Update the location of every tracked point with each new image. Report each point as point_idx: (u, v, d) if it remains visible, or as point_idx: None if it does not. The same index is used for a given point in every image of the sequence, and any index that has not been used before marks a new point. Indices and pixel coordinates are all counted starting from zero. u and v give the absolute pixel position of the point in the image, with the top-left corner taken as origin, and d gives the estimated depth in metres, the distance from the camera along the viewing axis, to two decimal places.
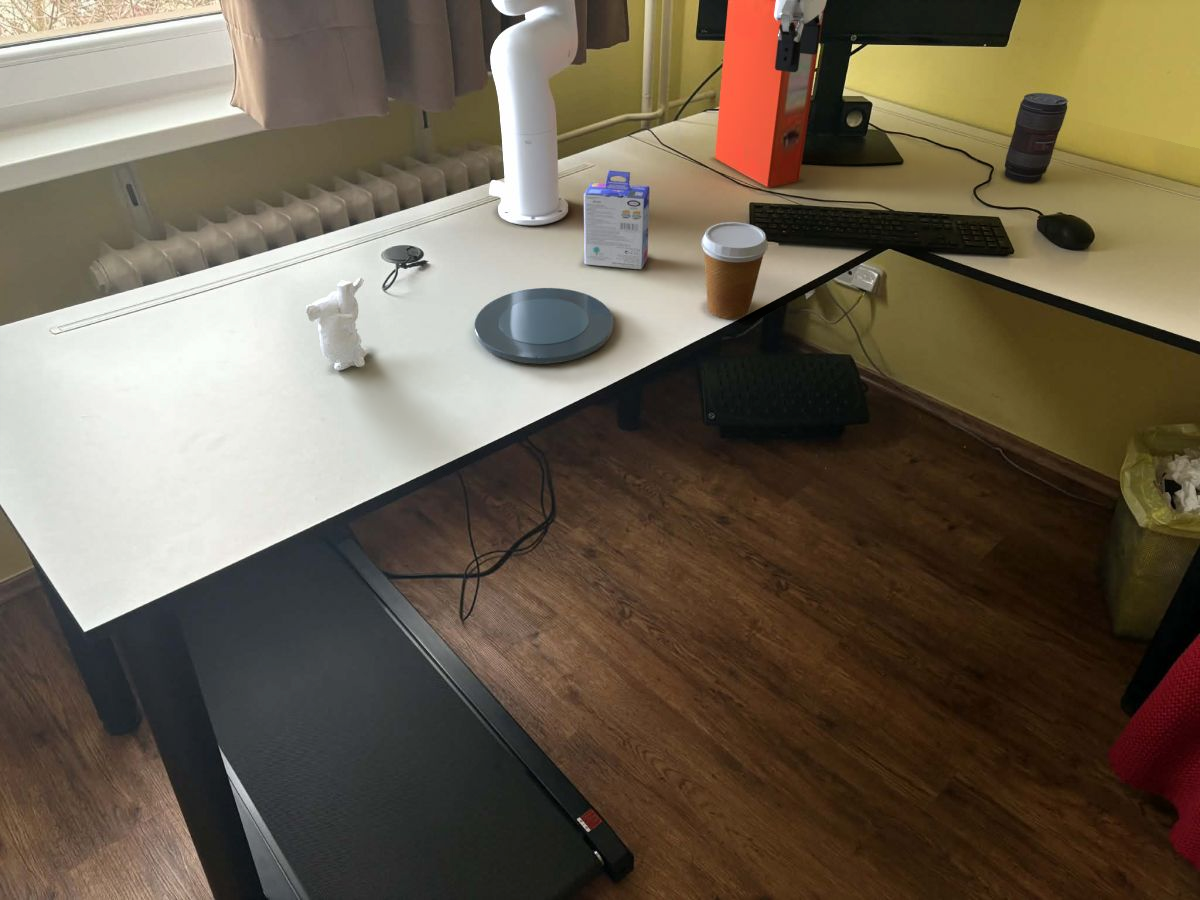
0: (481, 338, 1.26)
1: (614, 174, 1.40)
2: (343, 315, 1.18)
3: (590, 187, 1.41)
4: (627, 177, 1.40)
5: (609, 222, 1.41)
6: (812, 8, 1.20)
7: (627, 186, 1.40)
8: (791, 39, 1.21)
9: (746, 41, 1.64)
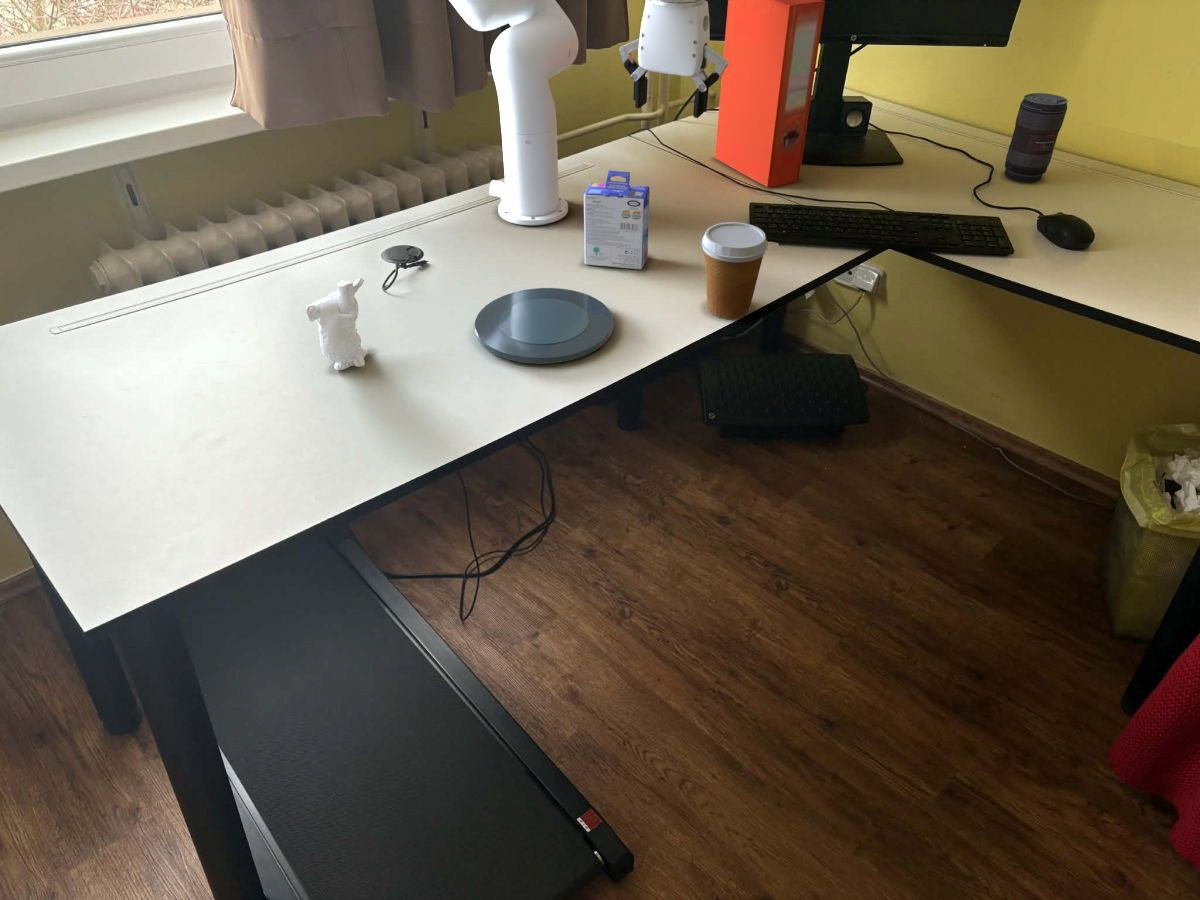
0: (481, 338, 1.26)
1: (614, 174, 1.40)
2: (343, 315, 1.18)
3: (590, 187, 1.41)
4: (627, 177, 1.40)
5: (609, 222, 1.41)
6: (646, 58, 1.35)
7: (627, 186, 1.40)
8: None
9: (746, 41, 1.64)
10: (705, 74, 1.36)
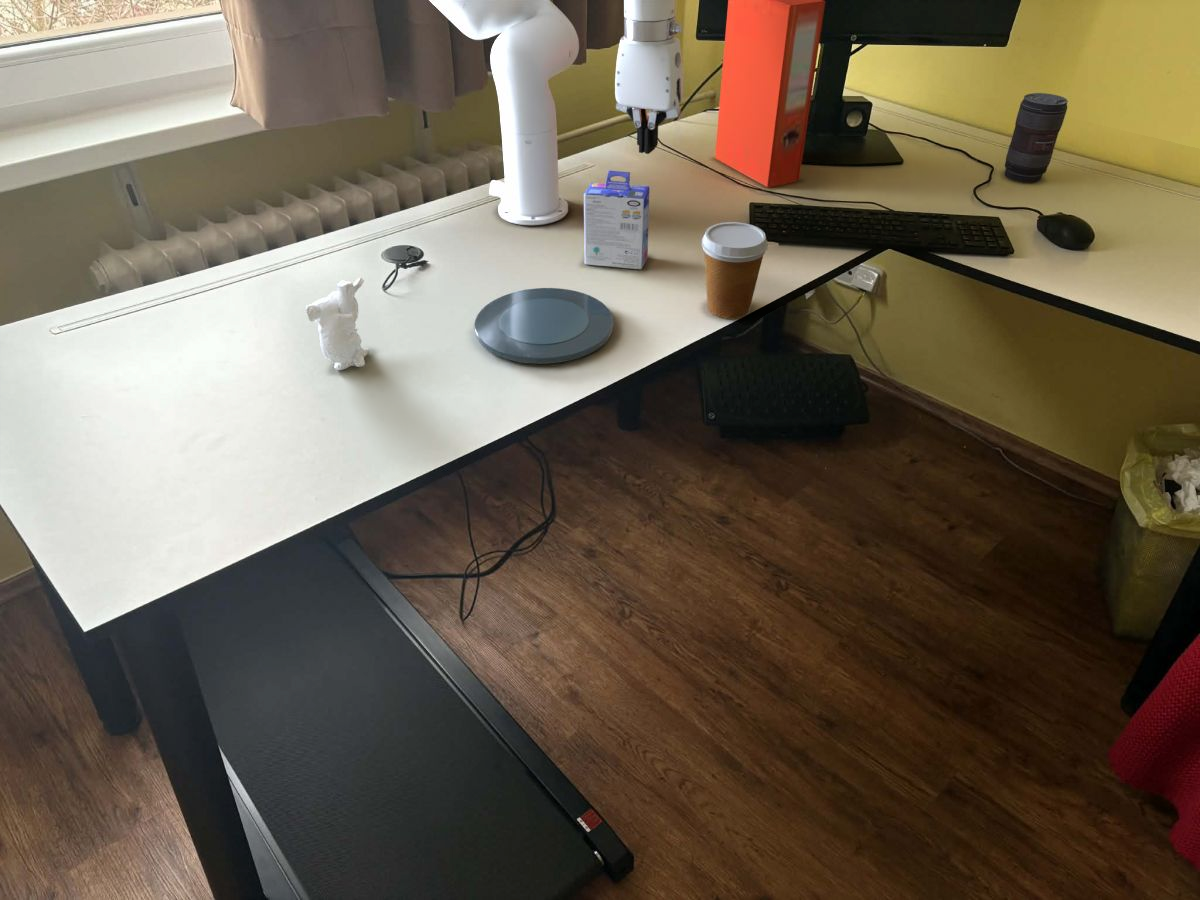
0: (481, 338, 1.26)
1: (614, 174, 1.40)
2: (343, 315, 1.18)
3: (590, 187, 1.41)
4: (627, 177, 1.40)
5: (609, 222, 1.41)
6: (622, 94, 1.40)
7: (627, 186, 1.40)
8: None
9: (746, 41, 1.64)
10: None
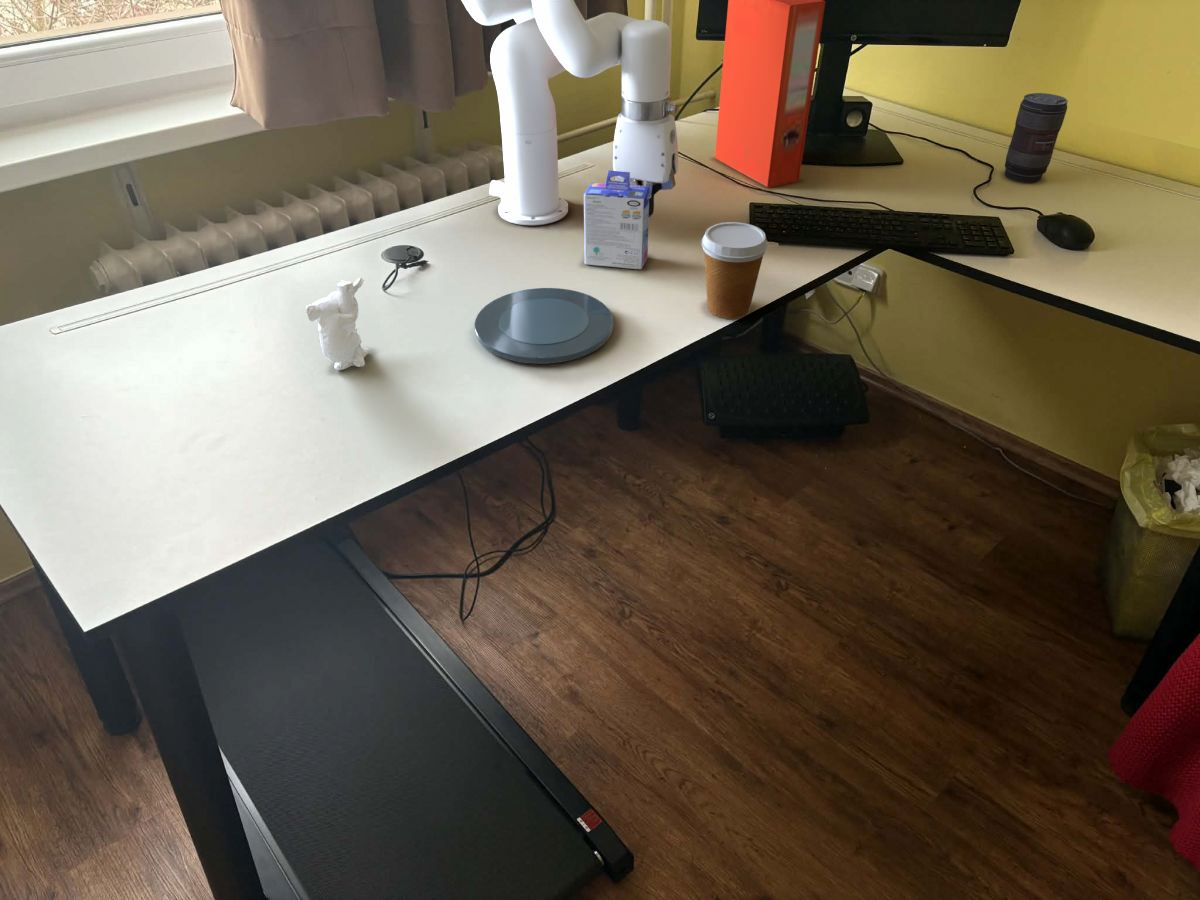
0: (481, 338, 1.26)
1: (614, 174, 1.40)
2: (343, 315, 1.18)
3: (590, 187, 1.41)
4: (627, 177, 1.40)
5: (609, 222, 1.41)
6: (620, 166, 1.47)
7: (627, 186, 1.40)
8: None
9: (746, 41, 1.64)
10: None
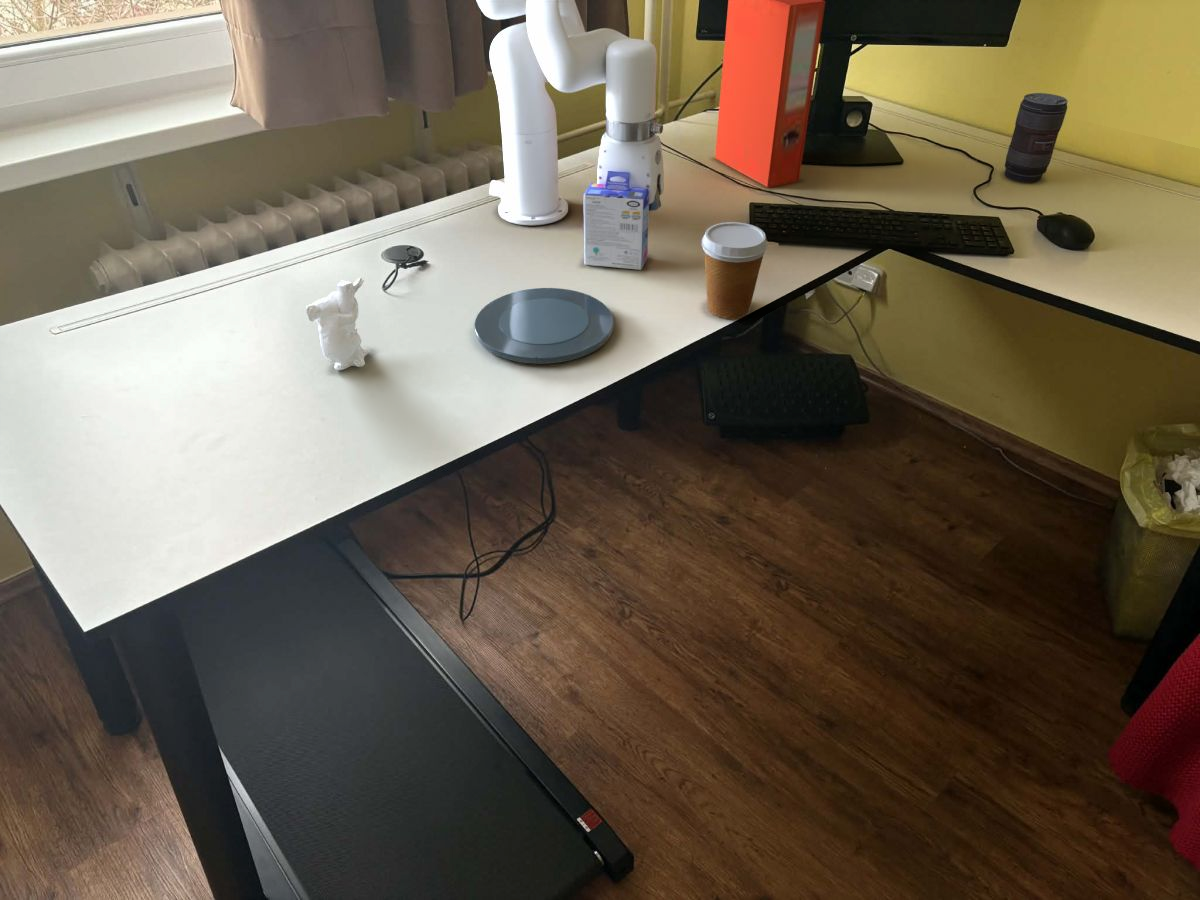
0: (481, 338, 1.26)
1: (614, 174, 1.40)
2: (343, 315, 1.18)
3: (590, 187, 1.41)
4: (627, 177, 1.40)
5: (609, 222, 1.41)
6: None
7: (627, 186, 1.40)
8: None
9: (746, 41, 1.64)
10: None
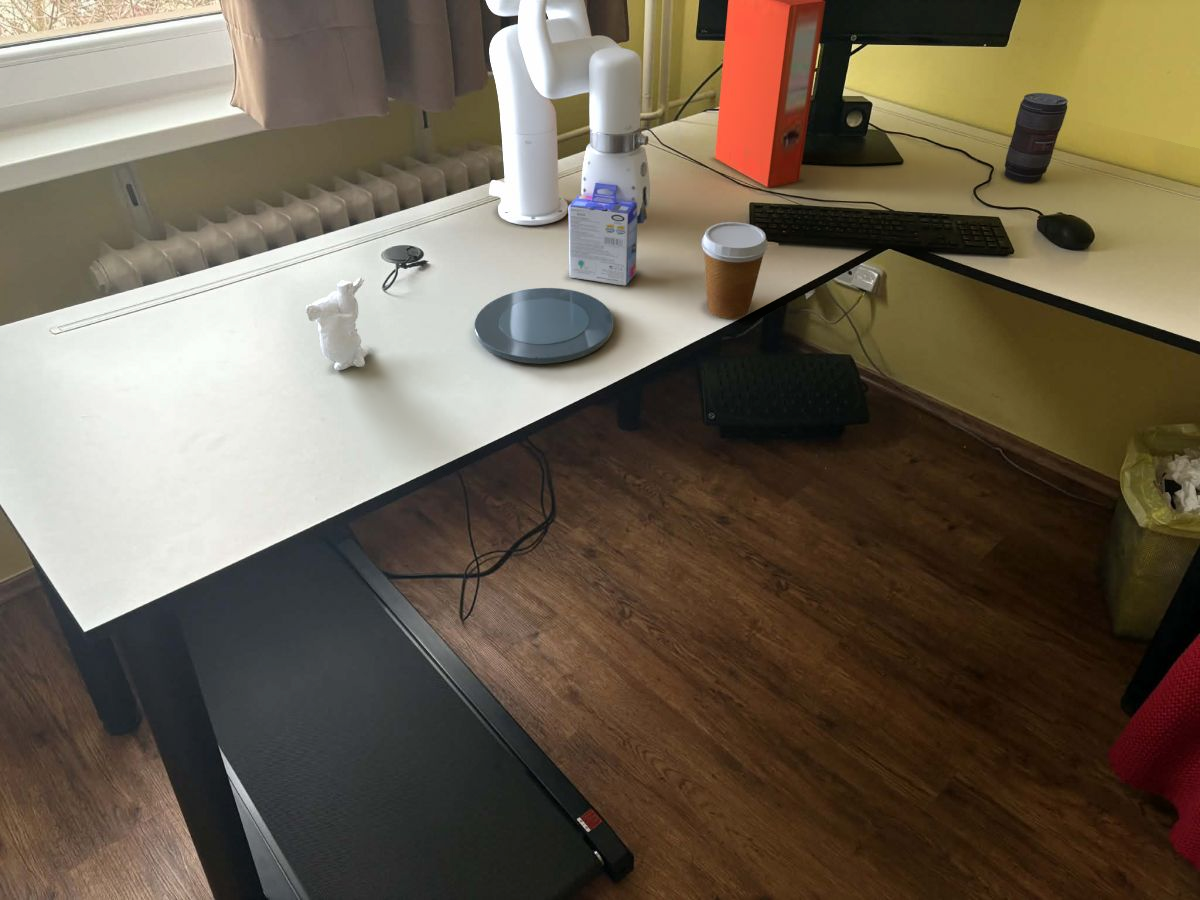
0: (481, 338, 1.26)
1: (601, 187, 1.36)
2: (343, 315, 1.18)
3: (576, 199, 1.38)
4: (614, 190, 1.36)
5: (594, 235, 1.38)
6: None
7: (613, 200, 1.36)
8: None
9: (746, 41, 1.64)
10: None
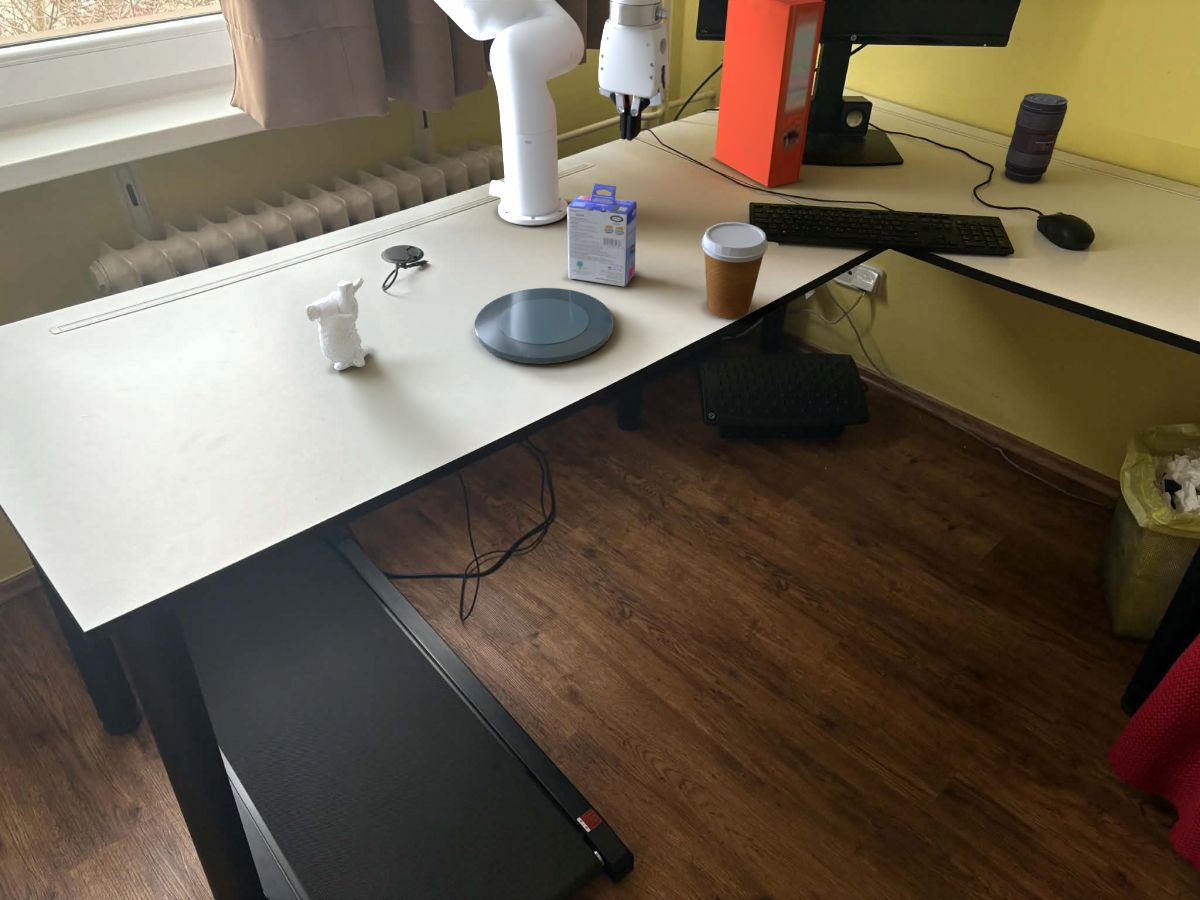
0: (481, 338, 1.26)
1: (600, 187, 1.36)
2: (343, 315, 1.18)
3: (575, 200, 1.38)
4: (613, 191, 1.36)
5: (592, 236, 1.37)
6: (606, 78, 1.37)
7: (612, 200, 1.36)
8: None
9: (746, 41, 1.64)
10: None
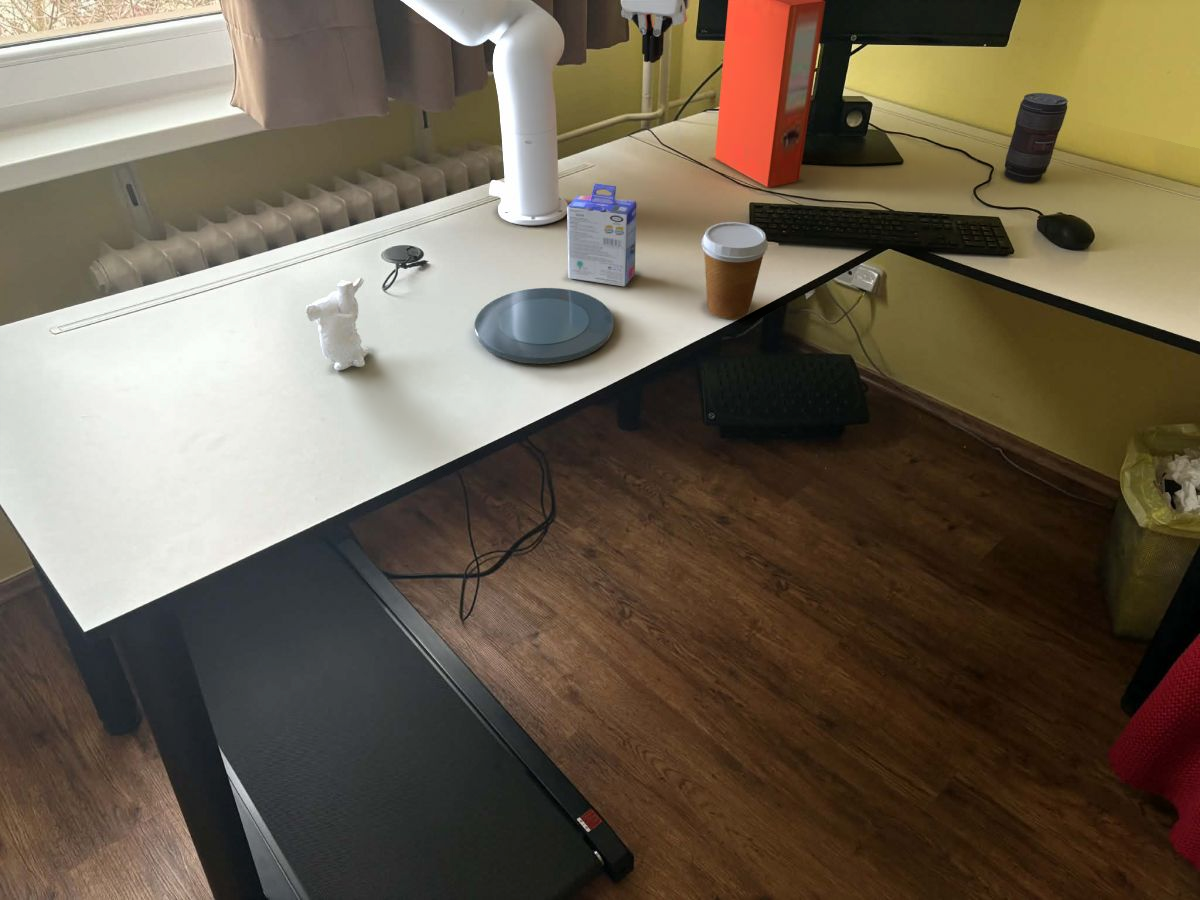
0: (481, 338, 1.26)
1: (600, 187, 1.36)
2: (343, 315, 1.18)
3: (575, 200, 1.38)
4: (613, 191, 1.36)
5: (592, 236, 1.37)
6: None
7: (612, 200, 1.36)
8: None
9: (746, 41, 1.64)
10: None
